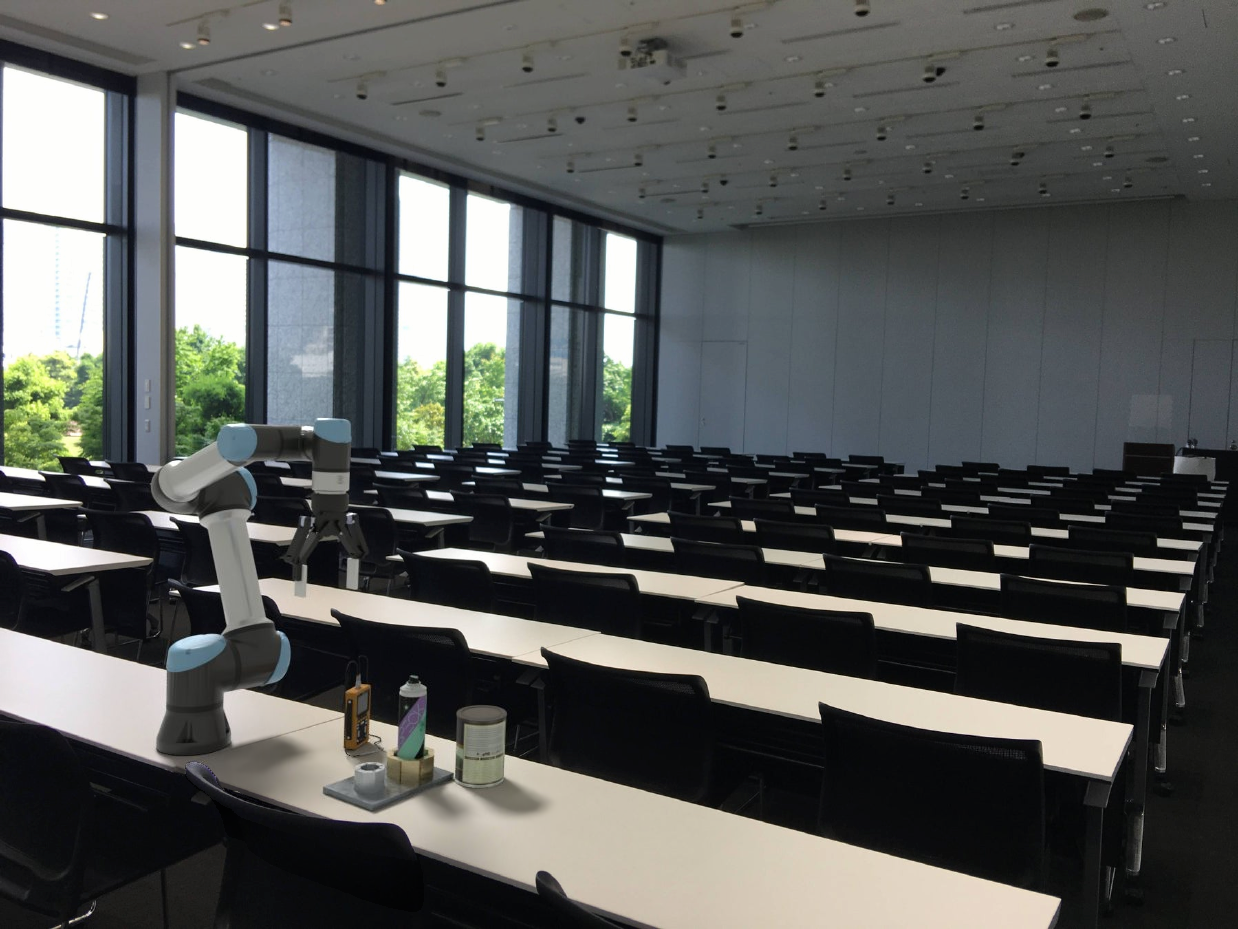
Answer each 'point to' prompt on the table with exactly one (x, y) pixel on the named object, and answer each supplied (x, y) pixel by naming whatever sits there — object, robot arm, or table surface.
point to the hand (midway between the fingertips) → (326, 592)
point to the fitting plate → (389, 780)
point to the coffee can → (480, 746)
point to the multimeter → (357, 714)
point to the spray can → (412, 719)
